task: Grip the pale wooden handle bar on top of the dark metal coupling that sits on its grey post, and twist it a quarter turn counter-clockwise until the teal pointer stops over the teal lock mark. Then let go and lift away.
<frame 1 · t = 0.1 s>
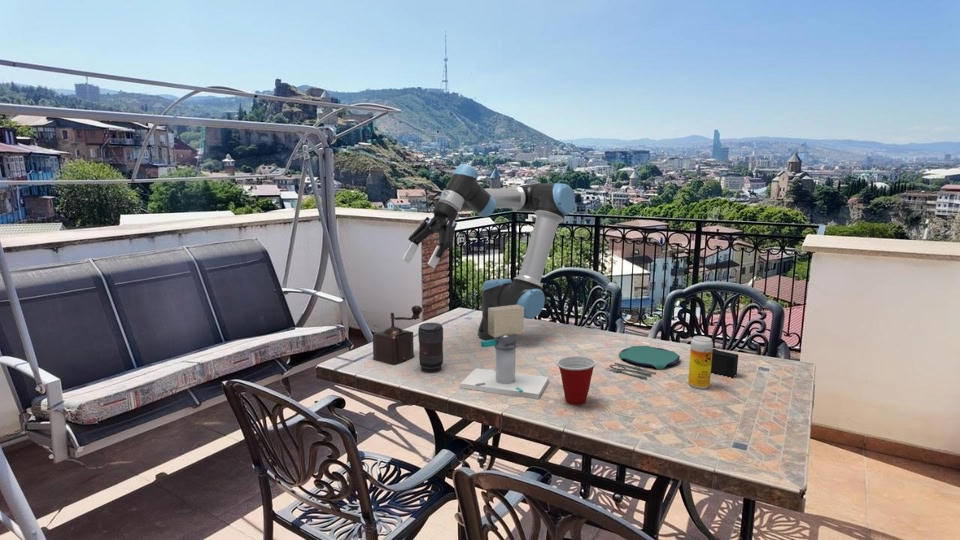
hand: (417, 263, 164), 36 cm above the table, tool tilted 35°, fingers open, 13 cm apart
plastic cup: (574, 401, 148), on the table
cutlery set: (642, 364, 180), on the table
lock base: (505, 384, 160), on the table
manual coffee grinder: (399, 357, 186), on the table
camera lens: (431, 369, 173), on the table
coupling: (501, 327, 156), point 18 cm above the table, hinge at 0.0°
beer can: (698, 386, 160), on the table
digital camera: (718, 372, 171), on the table
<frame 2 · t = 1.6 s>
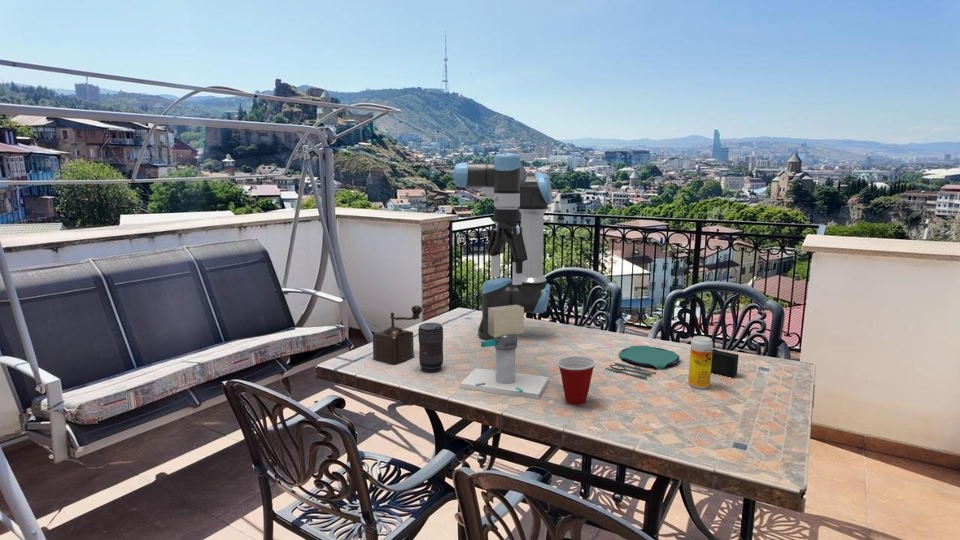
hand: (505, 280, 154), 32 cm above the table, tool pointing down, fingers open, 13 cm apart
nothing on the table moved.
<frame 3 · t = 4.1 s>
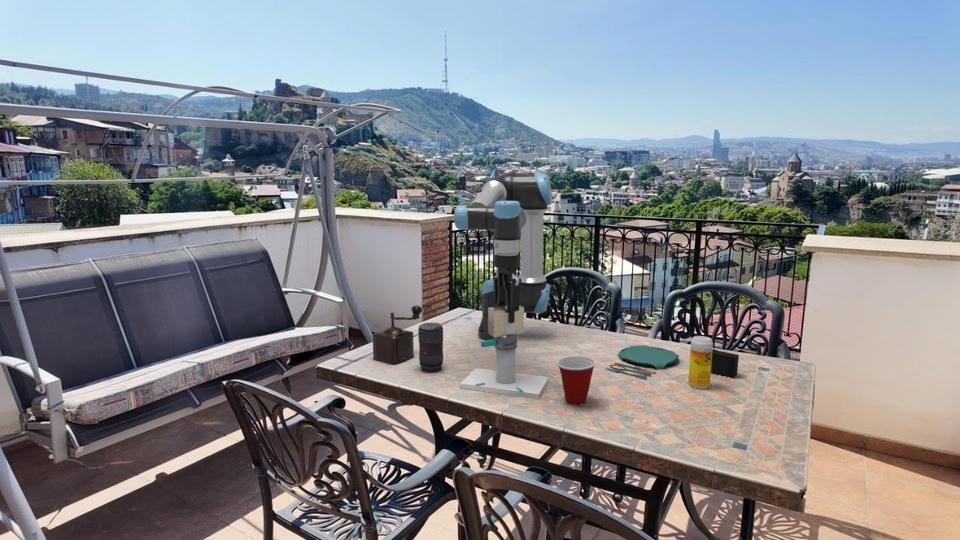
hand: (505, 330, 157), 17 cm above the table, tool pointing down, fingers closed on coupling, 4 cm apart
coupling: (501, 327, 156), point 18 cm above the table, hinge at 0.0°, touching gripper
everything else where it was.
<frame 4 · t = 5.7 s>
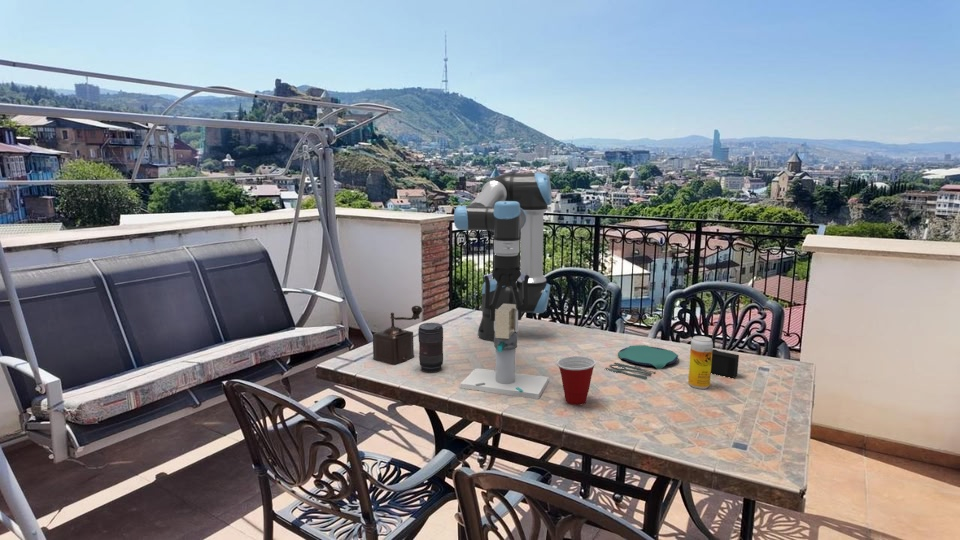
hand: (505, 330, 157), 17 cm above the table, tool pointing down, fingers closed on coupling, 5 cm apart
coupling: (504, 328, 155), point 18 cm above the table, hinge at 48.6°, touching gripper
everything else where it was.
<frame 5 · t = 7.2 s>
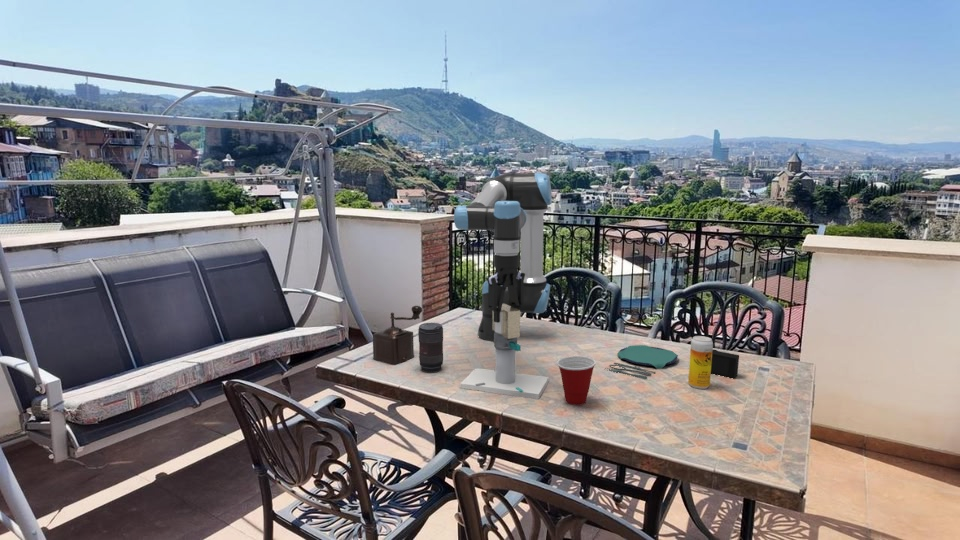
hand: (505, 330, 157), 17 cm above the table, tool pointing down, fingers closed on coupling, 5 cm apart
coupling: (508, 328, 156), point 18 cm above the table, hinge at 89.2°, touching gripper
everything else where it was.
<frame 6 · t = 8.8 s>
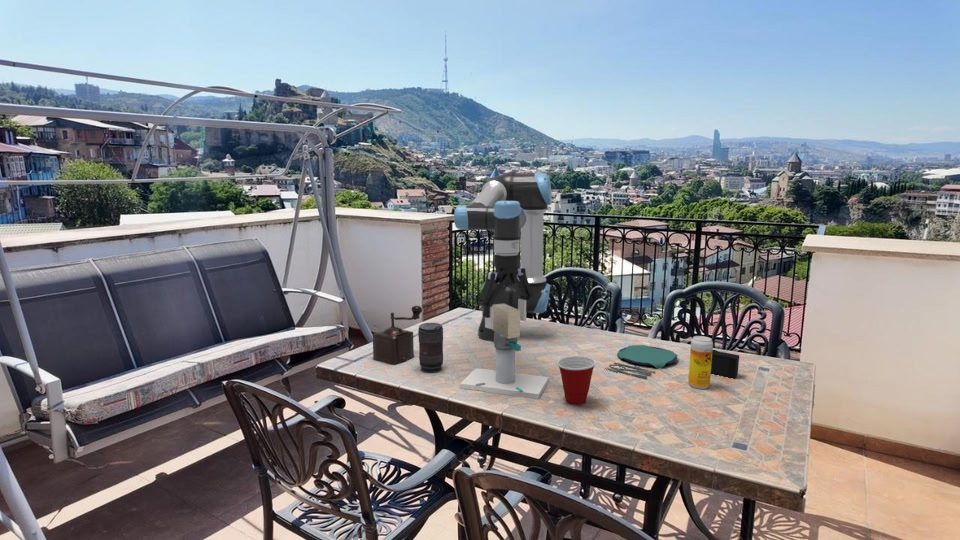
hand: (505, 324, 157), 19 cm above the table, tool pointing down, fingers open, 13 cm apart
coupling: (508, 328, 156), point 18 cm above the table, hinge at 89.7°
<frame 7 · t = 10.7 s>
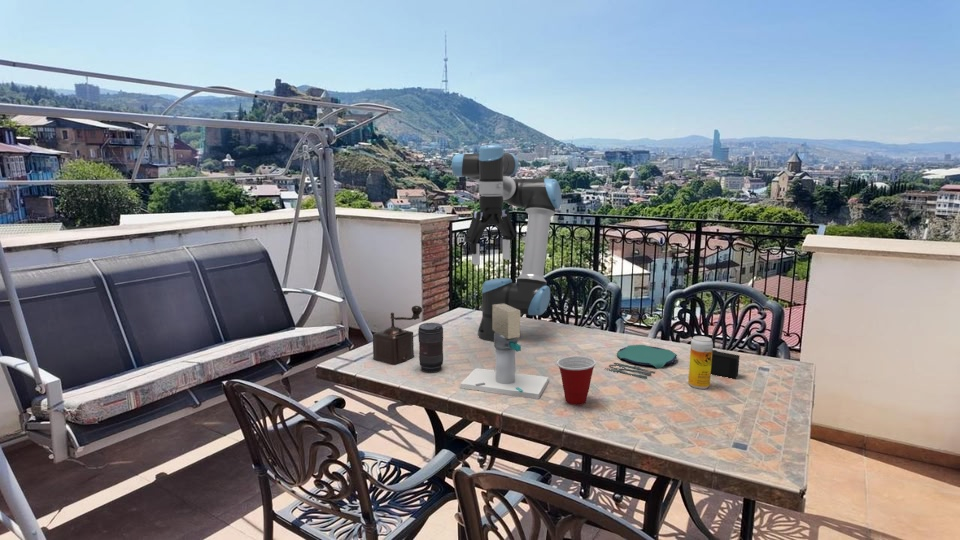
hand: (491, 261, 169), 36 cm above the table, tool pointing down, fingers open, 13 cm apart
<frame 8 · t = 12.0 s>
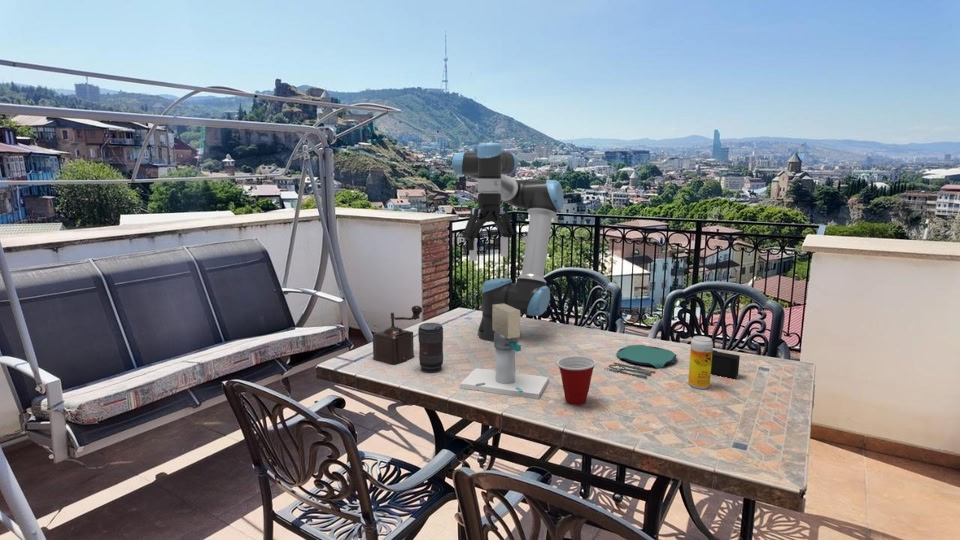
hand: (489, 258, 170), 37 cm above the table, tool pointing down, fingers open, 13 cm apart
at the end: coupling at +90° (first picture: +0°); the gripper is holding nothing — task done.
